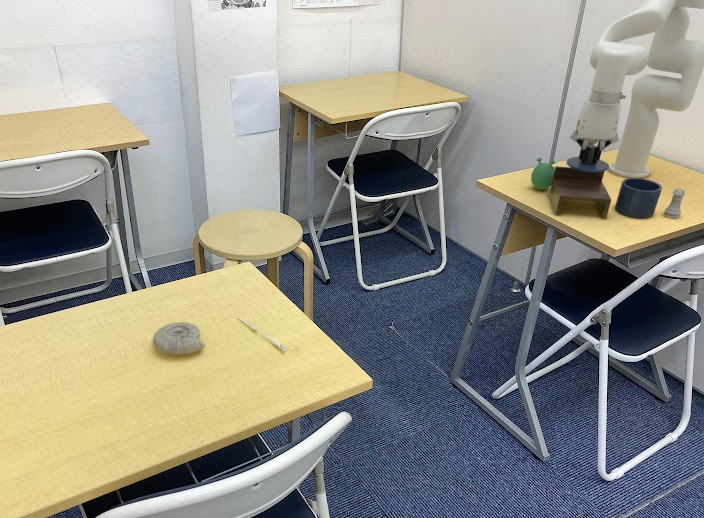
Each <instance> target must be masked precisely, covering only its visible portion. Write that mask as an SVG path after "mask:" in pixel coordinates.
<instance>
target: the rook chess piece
mask: <svg viewBox="0 0 704 518" xmlns="http://www.w3.org/2000/svg"><path fill="white" fill-rule="evenodd" d="M685 196H686V190H685V189H682V188H675V189H674V190H673V191H672V196H671V201H670V202H669V205H667V207H666V208H665V209H664V211H663V216H664V217H666V218H668V219H671V220H673V219H674V220H676V219H679V218H680V217H681V215H682V211H681V204H682V201H683V200H684V199H683V197H685Z"/></svg>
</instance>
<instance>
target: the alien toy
mask: <svg viewBox="0 0 704 518" xmlns="http://www.w3.org/2000/svg"><path fill="white" fill-rule="evenodd" d="M542 160H543V158H541V157H538V158H536V161H537V162H538V164H537V165H536V166H535V167H534V168H533V170H532V172H531V175H530V181H531V184H532V186H533V187H534V189H536V190H538V191H546V190H547V189H550V188H551V185H552V180H553V176H554V171H555V167H556V166H553V165H555V164H556V161H555V160H550V163H548V162H542V163H541V161H542Z"/></svg>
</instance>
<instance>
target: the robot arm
mask: <svg viewBox="0 0 704 518" xmlns="http://www.w3.org/2000/svg"><path fill="white" fill-rule="evenodd" d="M687 8H689V9H690V8H691V9H698V10H704V0H641V1H640V2H639V4H638V5H637V7H636V10H634V11H632V12H631V13H628V14H627V15H624V16H622V17H621V18H619V19H617V20H616V21H614V22H612V23H611V24H610V25H609V26H607V27H606V29H605V30H603V32H602V33H601V35H600V37H599V38H598V40H597V41H596V42H595V45H594V47H593V48H592V50H591V53H590V57H589V63H590V66H591V67H592V68H593V69H594V70H595V72H594V76H593V80H592V85H591V89H590V92H589V93H590V94H589V97H588V98H587V99H585V100H584V102H583V105H582V107H581V110H580V113H579V115H578V119H577V122H576V126H575V129H574V130H573V131H572V133H571V134H570V136H569V138H570V139H571V140H572V141H574V142H575V143H577V145H578V146H579V147H580V151H579V155H578V157H579V159H580V161H581V163H585V159H586V155H587V151H588V150H587V144H588V141H589V139H599V140H598V142H597V145H596V146H597V149H596V153H595V157H594V161H593V163H594V164H597V161H599V160H601V156H602V152H603V151H604V150H605V148H607V147H609V146H610V145H613V144H615V143H618V142H619V136H618V127H619V123H620V117H621V100H623V99H625V100H626V98H627V93H624V92H623V87H624V83H625V80H626V76H635V75H638V74H639V73H641V72H642V71H643V70H644V69H645V68H646V67H648V68H649V69H652V70H656V71H659V72H660V71H661V72H667V73H673V74H679V75H681V78H679V77H672V76H665V75H660V74H651V73H649V74H643V75H641V76H639V77H637V79H635V80H634V83H633V85H632V88H631V93H630V104H629V110H628V114H627V118H626V122H625V126H624V129H623V132H622V137H621V140H620V144H619V146H618V151H617V155H616V159H615V162H613V163H610V164H609V169H608V171H609V172H611V173H612V174H614V175H617V176H620V177H625V178H641V179H643V178H646V177H648V176H649V175H650V174H651V173H650V172H651V171H650V169H649V168H648V167H647V166H648V165H647V164H648V162H649V158H650V155H651V151H652V149H653V144H654V141H655V138H656V135H657V131H658V128H659V125H660V117H659V114H658V111H657V109H659V110H664V111H665V110H666V111H672V112H676V113H677V112H678V113H679V112H684V111H686V110H687V109H688V108H689V107H690V106H691V103H692V102H693V100H694V96H695V94H696V91H697V88H698V85H699V82H700V79H701V76H702V74H703V71H704V42H702V41H699V40H691V39H686V35H687V33H688V29H689V27H690V23H691V19H690V14H689V12H688V9H687ZM653 33H654V34H653ZM649 34H653V37H652V41H651V44H650V47H649V49H647V48H646V47H644V46H642V45H638V44H630V43H625V42H622V41H625V40H627V39H632V38H637V37H642V36H645V35H649ZM648 50H649V51H648ZM581 138H582V140H581Z"/></svg>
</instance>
